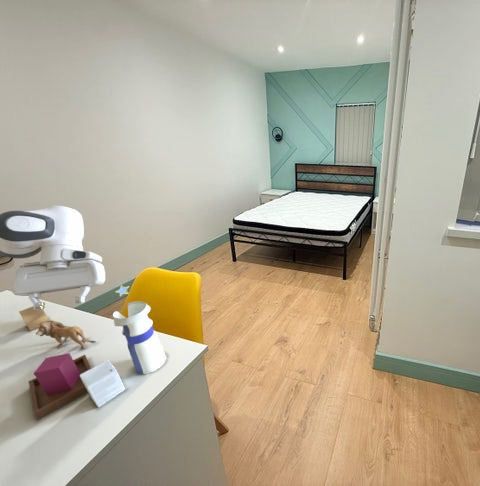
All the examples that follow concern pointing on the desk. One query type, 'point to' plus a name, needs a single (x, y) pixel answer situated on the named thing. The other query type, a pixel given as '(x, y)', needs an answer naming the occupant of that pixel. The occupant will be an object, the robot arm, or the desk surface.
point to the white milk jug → (140, 336)
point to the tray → (50, 403)
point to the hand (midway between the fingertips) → (59, 306)
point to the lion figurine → (62, 332)
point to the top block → (57, 374)
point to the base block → (33, 317)
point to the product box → (102, 382)
